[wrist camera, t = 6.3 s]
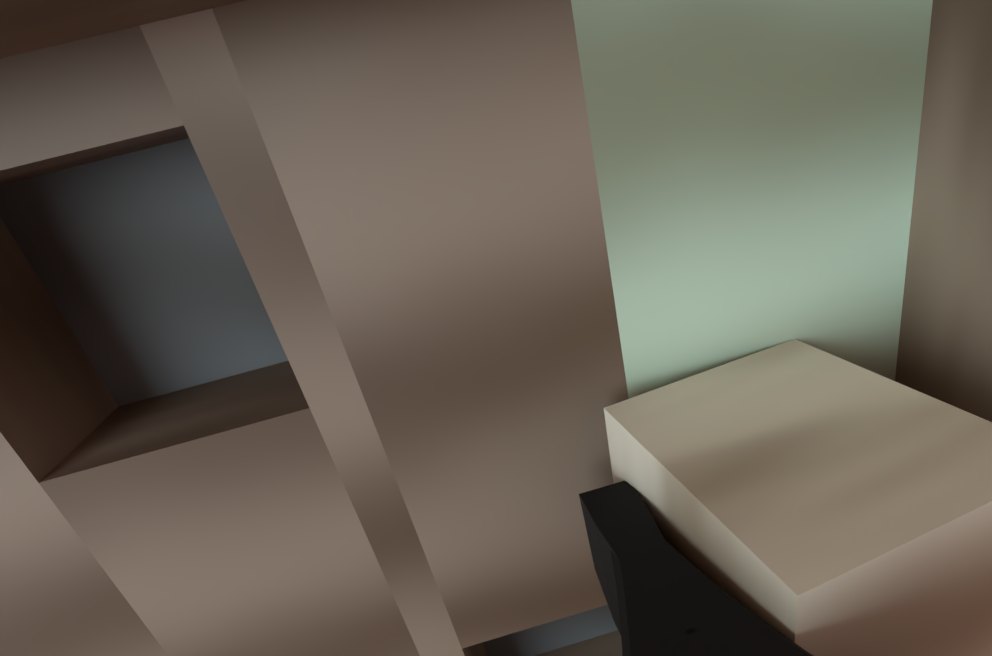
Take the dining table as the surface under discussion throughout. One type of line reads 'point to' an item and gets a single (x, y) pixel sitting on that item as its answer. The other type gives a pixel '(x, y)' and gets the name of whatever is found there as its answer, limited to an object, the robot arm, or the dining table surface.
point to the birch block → (821, 499)
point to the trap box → (436, 290)
